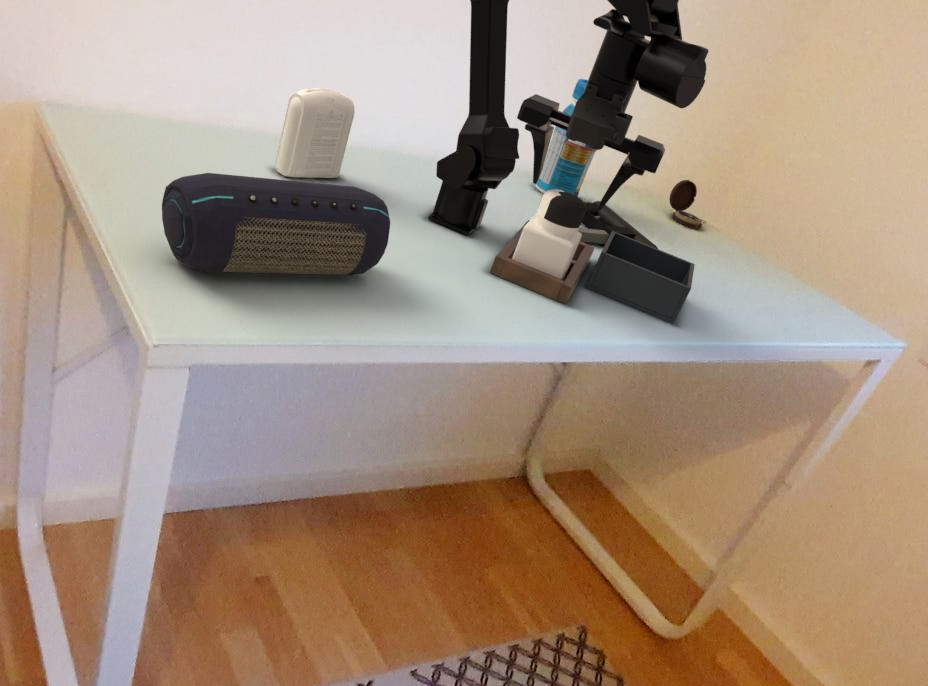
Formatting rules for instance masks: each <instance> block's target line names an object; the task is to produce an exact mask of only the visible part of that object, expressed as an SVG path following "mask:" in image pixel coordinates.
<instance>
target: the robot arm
mask: <svg viewBox="0 0 928 686" xmlns="http://www.w3.org/2000/svg"><path fill="white" fill-rule="evenodd" d="M469 1H470V42H469V43H470V45H469V46H470V47H469V48H470V49H469V88H468V89H469V95H468V100H469V101H468V115H467V118H466V119H465V122H464V123H463V125H462V127H461V129H460V131H459V133H458V135H457V142H456V149H455V150H456V151H453V152H451V153H450V154H448V155H446V156H444V157H442V158H441V159H439V160H437V162H436V172H435V173H436V175H435V177H436V178H438V179H440V180H441V181H442V182H441V185H440V188H439V191H438V195H437V198H436V201H435V205H434V208H433V211H432V212H430V214H428V216H427V218H428V220H430V221H432V222H435V223H438V224H440V225H442V226H444V227H447V228H449V229H451V230H454V231H457V232H459V233H461V234H464V235H470V234H471V233H472V232H473V231H475V230H477V229H478V228H480V226H481V224H482V222H483V218H484V215H485V212H486V209H487V206H488V203H489V200H488V199H487V195H488V192H489V189H491V190H497V188H498V187H499V186H500V184H501V183H502V182H503V181H504V180H506V179H507V178H508V177H509V176H510V175H511V173H513V172H514V170H515V167H516V160H519V159H520V155H519V139H520V130H519V128H517V127H510V126H509V125H510V124H509V123H508V120H507V118H506V114H505V103H506V102H505V101H506V74H507V73H506V72H507V71H506V70H507V40H508V39H507V38H508V9H509V7H508V6H509V2H510V0H469ZM606 1H607V2H608V3H609V4H610V5H611V6H612V7H613V8H611V9H610V10H609V11H608V12H607V13H605V14H603V15H600V16H598V17H596V18H594V19H593V21H592V23H593V25H594V26H595V27H598V28H600V29H603V30H605V31H606V32H605V35H604V37H603V40H602V43H601V45H600V47H599V51H598V53H597V55H596V58H595V61H594V64H593V66H592V68H591V72H590V74H589V77H588V79H587V80H588V82H587V84H586V87H585V90H584V92H583V95H582V96H581V97H580V98H579V100H578V101H577V102H576V105H575V107H574V110H573V113H572V115H568V114H566V113H563V111H560V110H559V109H560V103H559V102H557V101H555V100H553V99H549V98H547V97H544V96H542V95H539V94H537V93H536V94H533V95H531V96H529V97H527V98H526V99H524V100H523V101H522V103H521V106H520V108H519V110H518V114H517V116H516V119H518V121H520V122H523V123H526V124H525V125H524V130H525V131H527V132H529V133H530V135H531V138H532V143H533V145H532V146H533V167H532V169H533V171H532V174H533V175H532V184H534V185H535V184H536V183H537V182H538V179H539V177H540V174H541V172H542V169H543V165H544V162H545V158H546V154H547V151H548V148H549V145H550V142H551V140H552V137H553V132H554V129H555V127H556V126H557V127H559V128H562V129H564V130H567V131H566V137H567V138H568V139H570V140H572V141H579V142H581V143H584V144H586V145H589V147H590V148H592V149H595V150H597V151H600V150H602V149H603V148H604V147H607V148H608V149H609V148H610V149H612V150H615V151H617V152H619V153H623V154H624V155H626V157H625V159H624V161H623V162H622V164H621V166H620V167H619V169H618V171H617V172H616V174H615V175H614V177H613V179H612V181H611V183H610V184H609V186H608V187H607V189H606V191H605V193H604V194H603V196H602V198H601V200H600V201H601V202H600V205H599V207H598V210H601V209H602V208H603V207H604V205H606V204H608V202H609V201H610V200H611V199H612V197H613V195H614V194H615V193H617V192H618V190H619V189H620V188H621V187H622V186H623V185H624V184H625V183H626V182H627V181H628V180H630V178H632V177H633V176H634V175H637V176H644V174H645V172H648V173H651V174H656V173H657V170H658V169H659V166H660V163H661V161H662V159H663V157H664V155H665V152H666V148H665V146H664V143H661V142H659V141H656V140H654V139H651V138H648V137H646V136H644V135H641V134H638V135H637V136H636V138H635V139H634V140H633V139H631V138H628V137H626V136H627V135H628V134H627V133H628V131H629V128H630V126H631V123H632V120H633V119H634V115H631V114H629V113H626V110H627V109H628V106H629V103H630V101H631V98H632V96H633V93H634V91H635V89H636V86H637V84H638V87H639V89H640V90H641V91H643V92H645V93H647V94H648V95H650V96H653V97H655V98H657V99H660V100H662V101H664V102H666V103H668V104H671V105H673V106H675V107H677V108H679V109H685V108H687V107H689V106H690V105H691V104H693V102H694V101H695V100H696V99H697V98H698V97H699V95H700V93H701V91H702V89H703V88H704V85H705V83H706V79H705V78H706V76H707V75H706V74H707V63H706V58H707V56H708V54H709V48H706V47H704V46H701V45H699V44H694V43H690V42H687V41H685V40H683V34H682V26H681V19H680V11H679V2H680V0H606ZM625 18H627V20H628V21H627V20H626V19H625ZM646 37H648V38H650V39H649V40H648V39H646Z"/></svg>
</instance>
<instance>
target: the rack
mask: <svg viewBox="0 0 928 686" xmlns="http://www.w3.org/2000/svg"><path fill="white" fill-rule="evenodd" d="M530 220H531V219H530ZM530 220H529V219H527V221H526V222H525V223H524V224H523V225H522V227H520V228H519V230H518V231H517V232H516V233H515V234H514V235H513V236H512V238H511V239H509V241H508V242H507V243H506V244H505V245H504V247H503V248H502V249H500V251H498V253H497V254H496V255H495V256H494V260H493V263H492V266H491V268H490V271H489V273H490V274H492V275H494V276H496V277H499V278H501V279H504V280H506V281H509V282H511V283H513V284H516V285H518V286H520V287H523V288H525V289H528V290H530V291H533V292H535V293H537V294H540V295H542V296H544V297H546V298H549V299H551V300H554V301H557V302H559V303H561V304H564V305H566V304H567V303H568V301H569V299H570V297H571V295H572V294H573V292H574V290H575V288H576V286H577V285H578V283H579V281H580V279H581V277H582V275H583V274H584V272H585V270H586V268H587V266H588V264H589V262H590V260H591V258H592V255H593V253H594V251H595V248H596V247H595V246H594V245H591V244H589V243H587V242H581V241H580V242H579V244H578V247H577V249H576V251H575V254H574V256H573V259H572V261H571V264H570V266H569V268H568V271H567V273H566V276H565V278H564V280H561V279H559V278H556V277H554V276H552V275H549V274H547V273H544V272H542V271H539V270H537V269H535V268H532V267H530V266H527V265H525V264H523V263H520V262H518V261H515V260H513V259H512V258H513V255H514V252H515V250H516V247H517V244H518V242H519V239H520V236H521V234H522V231H523V228H524V226H525V225H526V224H527V223H528V222H529V221H530Z"/></svg>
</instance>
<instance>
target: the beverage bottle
mask: <svg viewBox="0 0 928 686" xmlns="http://www.w3.org/2000/svg"><path fill="white" fill-rule="evenodd" d="M587 82H588V79H584V78H579V79H578V80H577V82H576V84H575V86H574V89H573V92H572V94H571V95H572V96H571V99H573V100H574V101H572V102H571V103H569V105H567V106H566V107H565V108H564V109H563V110H562V112H563V113H566V114H568V115H572V113H573V110H574V107H575V105H576V102H577V101H578V100H579V98H580V97H581V96H582V95H583V92H584V90H585V87H586V84H587ZM566 131H567V130H564V129H562V128H559V127H557V126H554V129H553V133H552V137H551V140H550V144H549V147H548V151H547V154H546V158H545V162H544V165H543V169H542V172H541V174H540V177H539V179H538V182H537V183H536V184H534V186H535V188H536V189H537V191H539V193H542V194H543V195H544V192H546V191H547V190H554V189H556V190H562V191H566V192H569V193H571V194H573V195H575V196H577V197H579V194H580V191H581V188H582V186H583V183H584V180H585V178H586V176H587V173H588V171H589V168H590V166H591V163H592V161H593V159H594V157H595V154H596V152H597V151H598V150H595V149H592V148H590V147H589V145H586V144H584V143H581V142H579V141H572V140H570V139H568V138H567V137H566Z"/></svg>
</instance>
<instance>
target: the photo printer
mask: <svg viewBox="0 0 928 686" xmlns="http://www.w3.org/2000/svg"><path fill="white" fill-rule="evenodd" d="M285 111H286V112H285V115H284V120H283V125H282V130H281V134H280V138H279V144H278V149H277V154H276V157H275V163H274V164H275V165H274V166H275V168H276V171H277V172H278V173H279V174H280V175H282V176H284V177H292V178H316V179H317V178H322V179H323V178H324V179H335V178H338V177H339V175H340V172H341V169H342V165H343V161H344V156H345V153H346V148H347V145H348V141H349V136H350V133H351V130H352V125H353V121H354V117H355V104H354V101H353V100H352V99H351V98H349V96H347V95H345V94H343V93H341V92H339V91H336V90H334V89H330V88H325V87H314V88H313V87H311V88H306V89H300V90H297V91H295V92H293V93H292V94H291V95H290V97H289V99H288V102H287V107H286V110H285Z"/></svg>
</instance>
